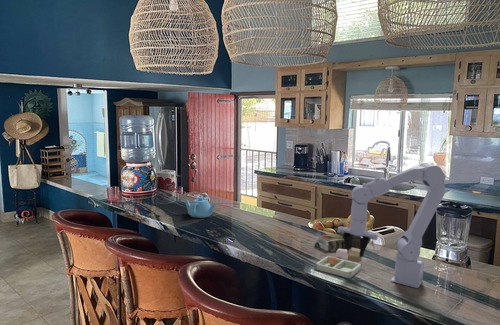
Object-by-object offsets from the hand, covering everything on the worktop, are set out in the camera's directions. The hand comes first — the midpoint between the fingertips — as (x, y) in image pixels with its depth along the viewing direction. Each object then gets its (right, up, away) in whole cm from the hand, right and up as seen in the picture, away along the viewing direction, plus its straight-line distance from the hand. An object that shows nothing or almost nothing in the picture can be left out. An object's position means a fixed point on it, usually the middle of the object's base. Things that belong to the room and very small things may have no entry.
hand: (355, 254), depth 145 cm
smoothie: (-2, -4, +20) cm, 20 cm away
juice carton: (+1, -6, +35) cm, 36 cm away
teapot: (-68, +3, +85) cm, 109 cm away
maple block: (0, -2, 0) cm, 2 cm away
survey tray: (-5, -8, +6) cm, 11 cm away
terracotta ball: (-6, -6, +10) cm, 13 cm away
